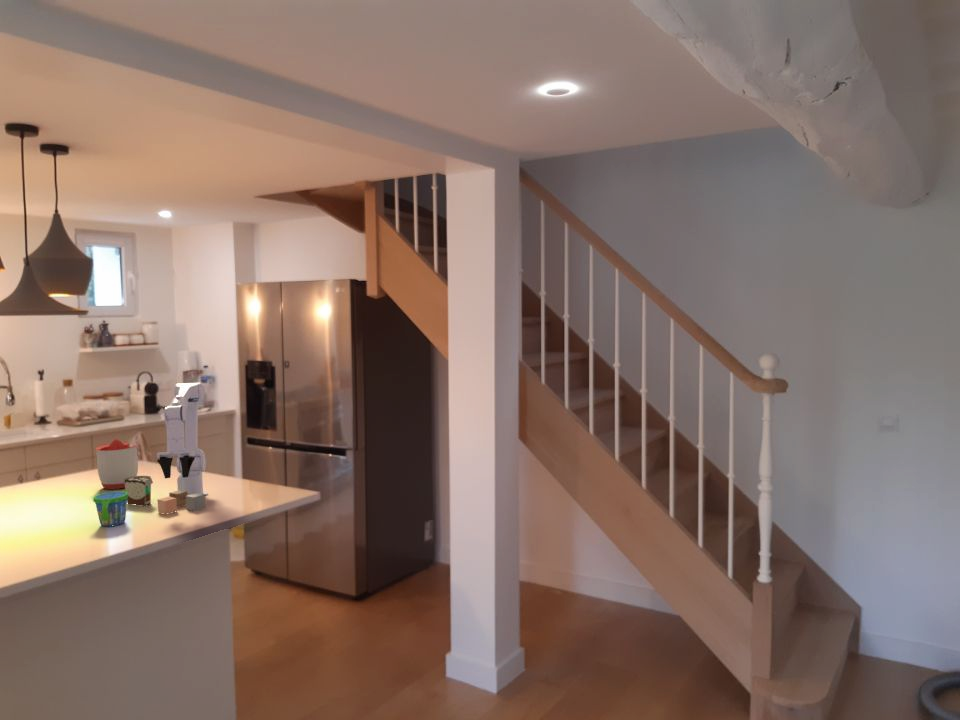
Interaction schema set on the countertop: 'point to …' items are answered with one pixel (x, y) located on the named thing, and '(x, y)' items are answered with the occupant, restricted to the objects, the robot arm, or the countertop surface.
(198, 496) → the slate block
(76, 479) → the countertop surface
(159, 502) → the terracotta block
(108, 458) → the citrus juicer
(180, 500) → the walnut block
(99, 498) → the snack cup
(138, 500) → the food container
